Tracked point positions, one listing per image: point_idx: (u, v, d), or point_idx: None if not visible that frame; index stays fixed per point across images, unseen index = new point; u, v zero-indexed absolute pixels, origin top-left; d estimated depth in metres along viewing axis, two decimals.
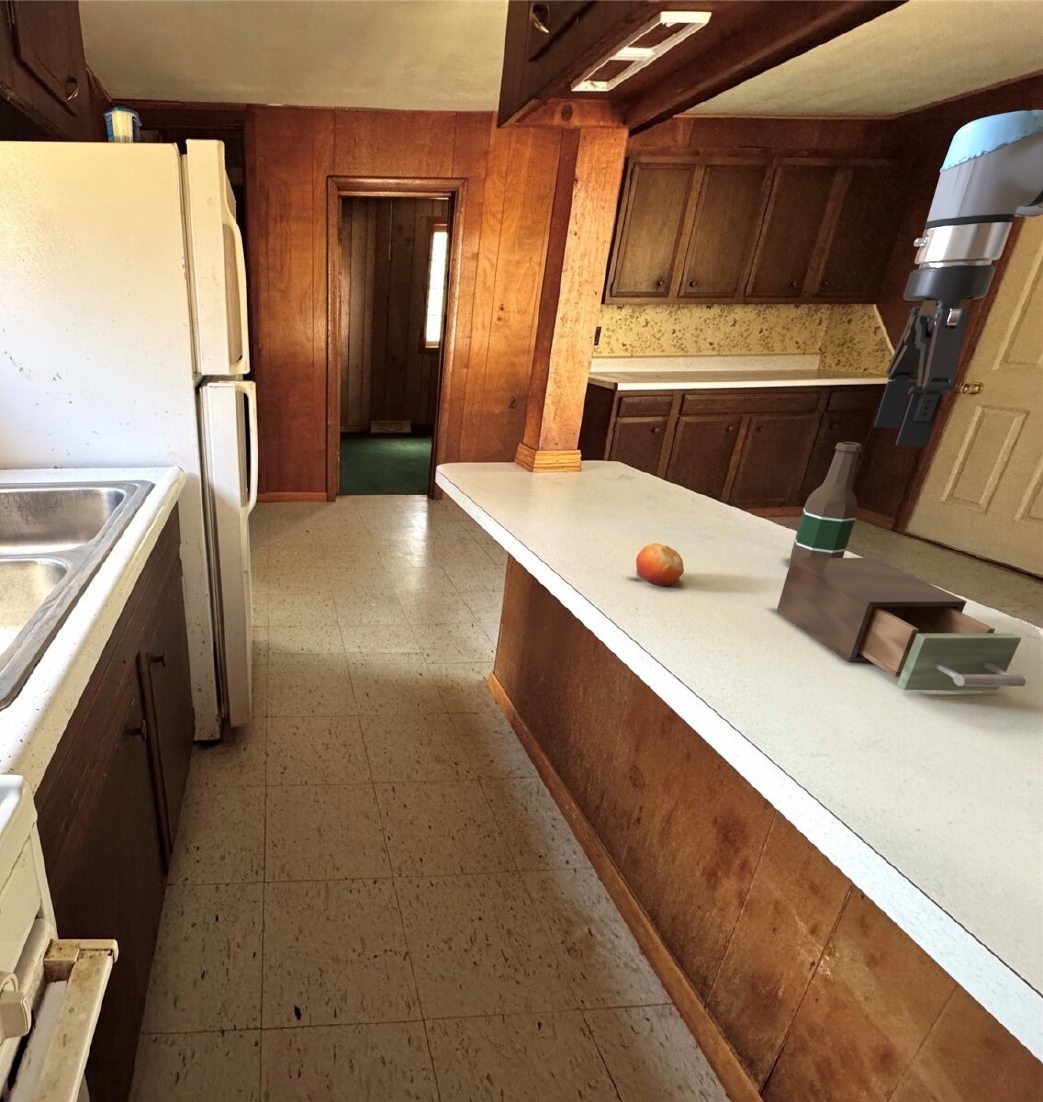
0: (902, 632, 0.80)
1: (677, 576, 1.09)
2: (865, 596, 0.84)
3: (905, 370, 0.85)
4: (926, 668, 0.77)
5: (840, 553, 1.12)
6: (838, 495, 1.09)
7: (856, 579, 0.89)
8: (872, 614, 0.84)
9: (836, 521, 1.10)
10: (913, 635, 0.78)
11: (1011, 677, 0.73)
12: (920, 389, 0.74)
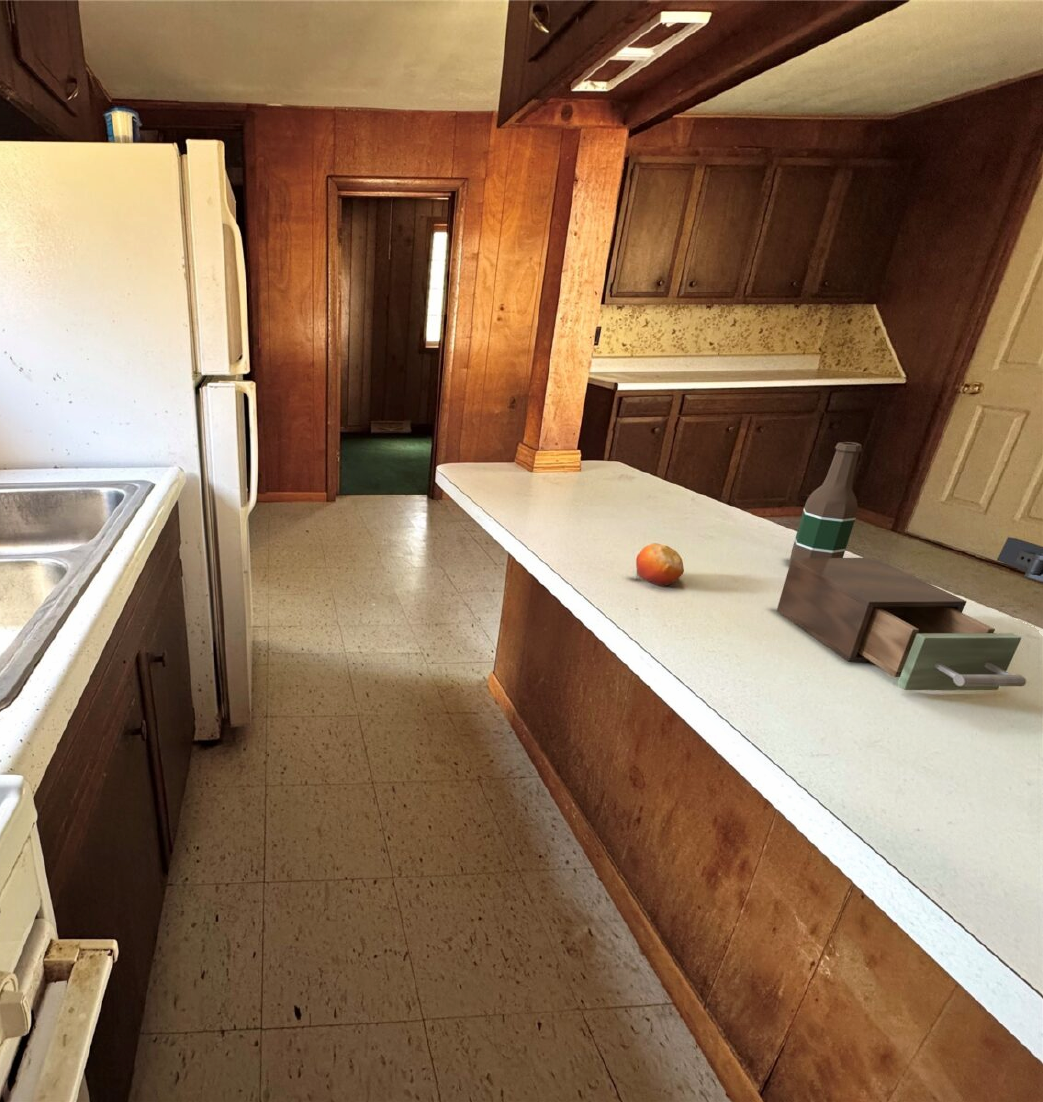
0: (902, 632, 0.80)
1: (677, 576, 1.09)
2: (865, 596, 0.84)
3: None
4: (926, 668, 0.77)
5: (840, 553, 1.12)
6: (838, 495, 1.09)
7: (856, 579, 0.89)
8: (872, 614, 0.84)
9: (836, 521, 1.10)
10: (913, 635, 0.78)
11: (1011, 677, 0.73)
12: None
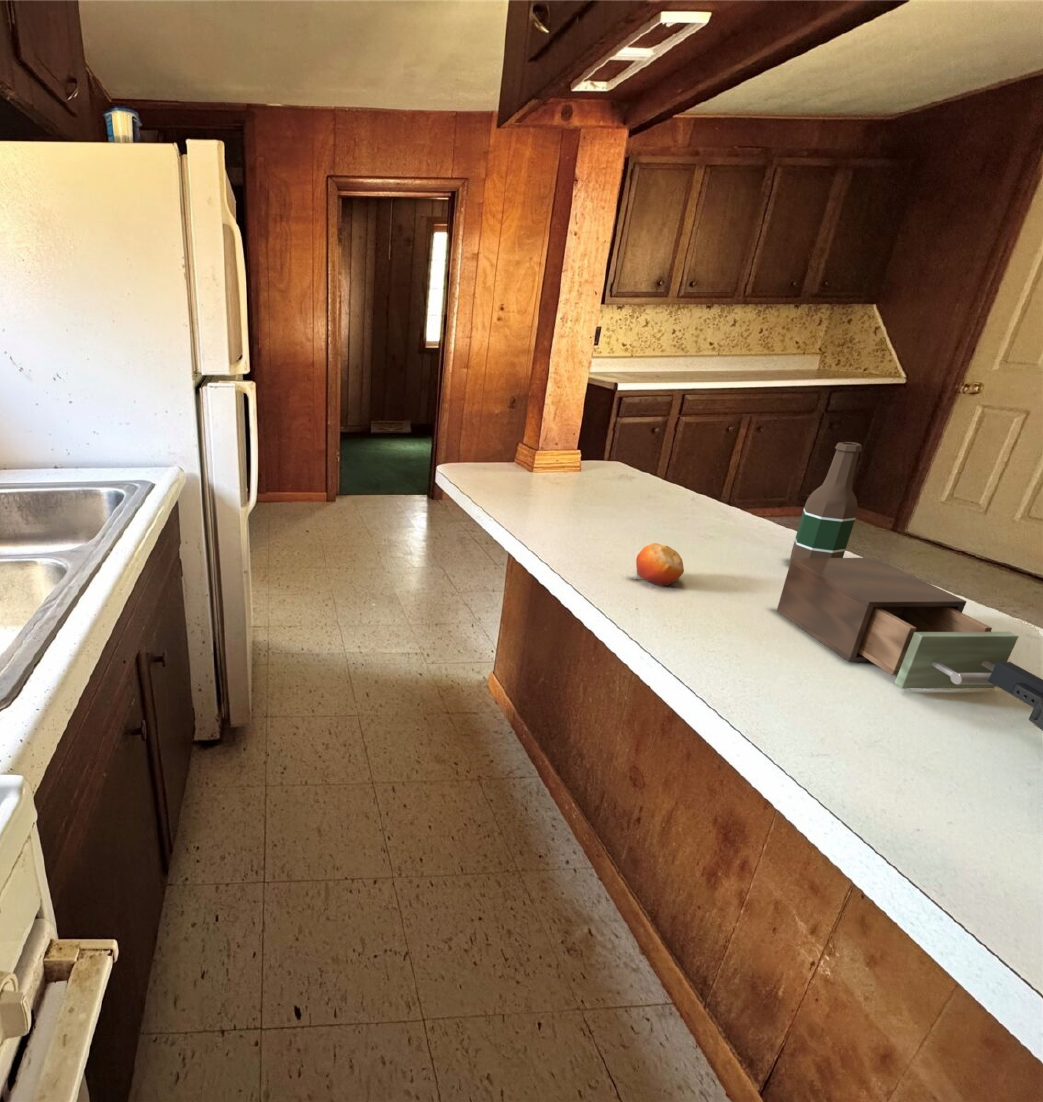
0: (900, 631, 0.80)
1: (677, 576, 1.09)
2: (865, 596, 0.84)
3: None
4: (923, 666, 0.78)
5: (840, 553, 1.12)
6: (838, 495, 1.09)
7: (856, 579, 0.89)
8: None
9: (836, 521, 1.10)
10: (911, 634, 0.79)
11: None
12: None
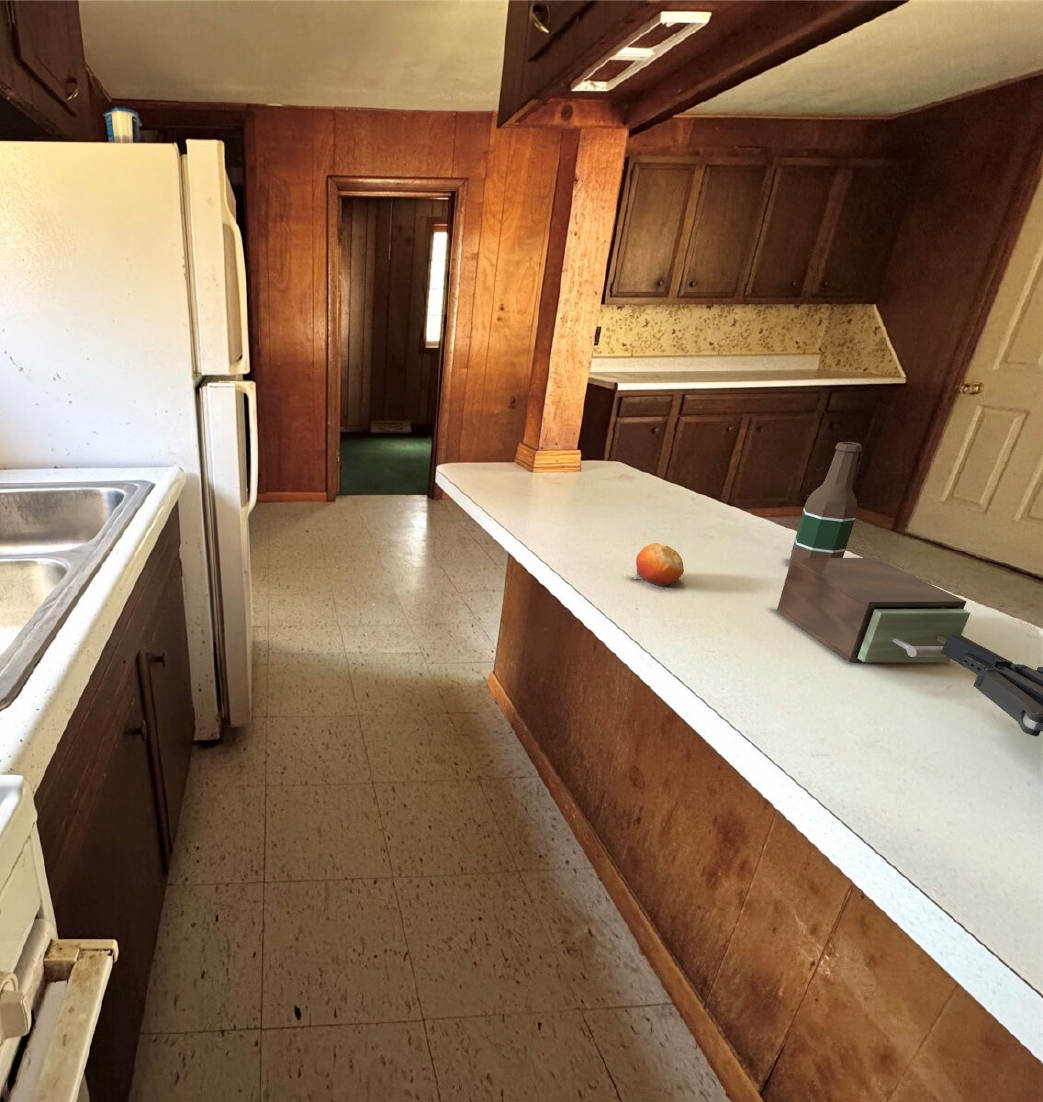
0: None
1: (677, 576, 1.09)
2: (865, 596, 0.84)
3: None
4: (883, 641, 0.83)
5: (840, 553, 1.12)
6: (838, 495, 1.09)
7: (856, 579, 0.89)
8: None
9: (836, 521, 1.10)
10: (872, 611, 0.84)
11: None
12: None
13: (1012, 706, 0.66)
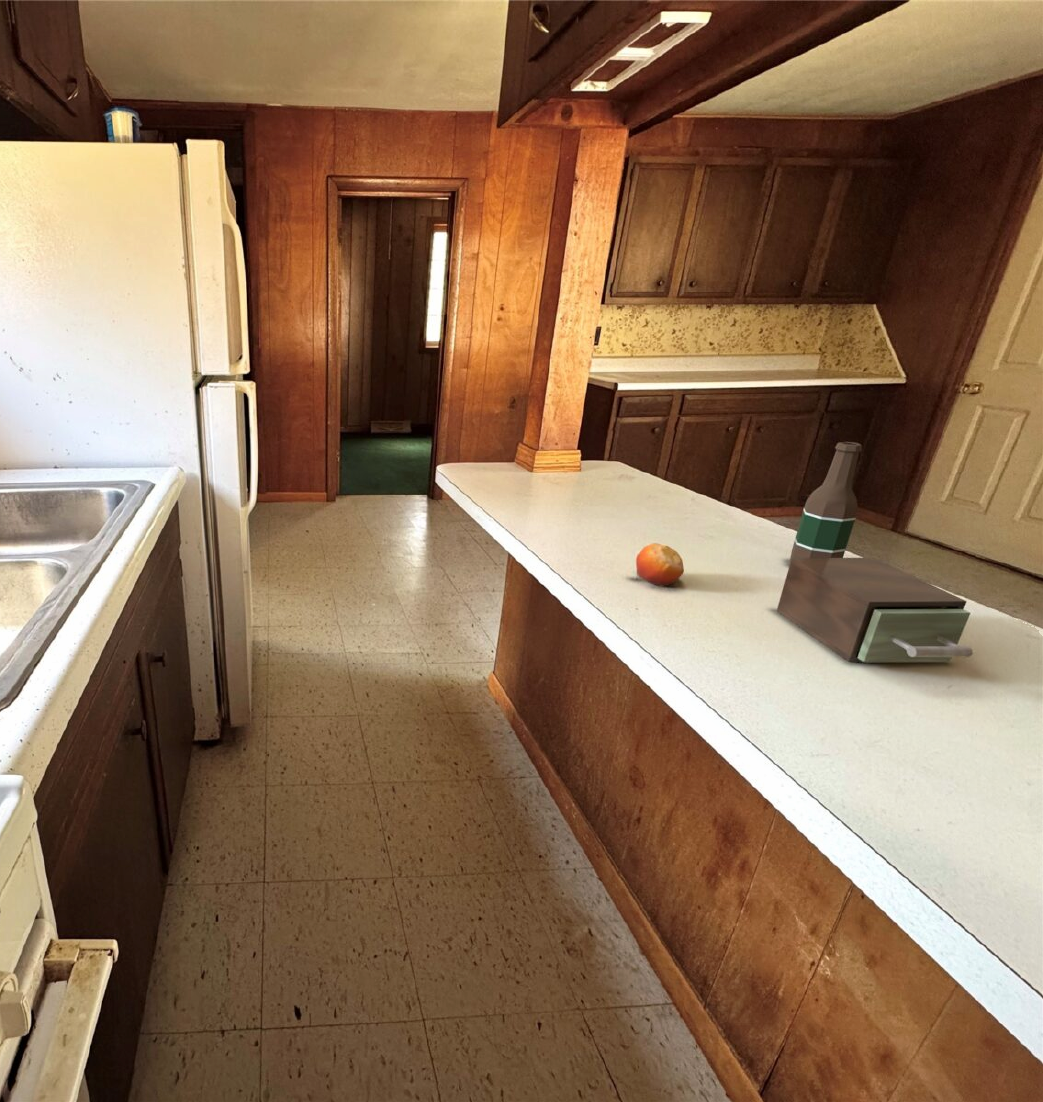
0: None
1: (677, 576, 1.09)
2: (865, 596, 0.84)
3: None
4: (883, 641, 0.83)
5: (840, 553, 1.12)
6: (838, 495, 1.09)
7: (856, 579, 0.89)
8: None
9: (836, 521, 1.10)
10: (872, 611, 0.84)
11: (959, 648, 0.79)
12: None
13: None
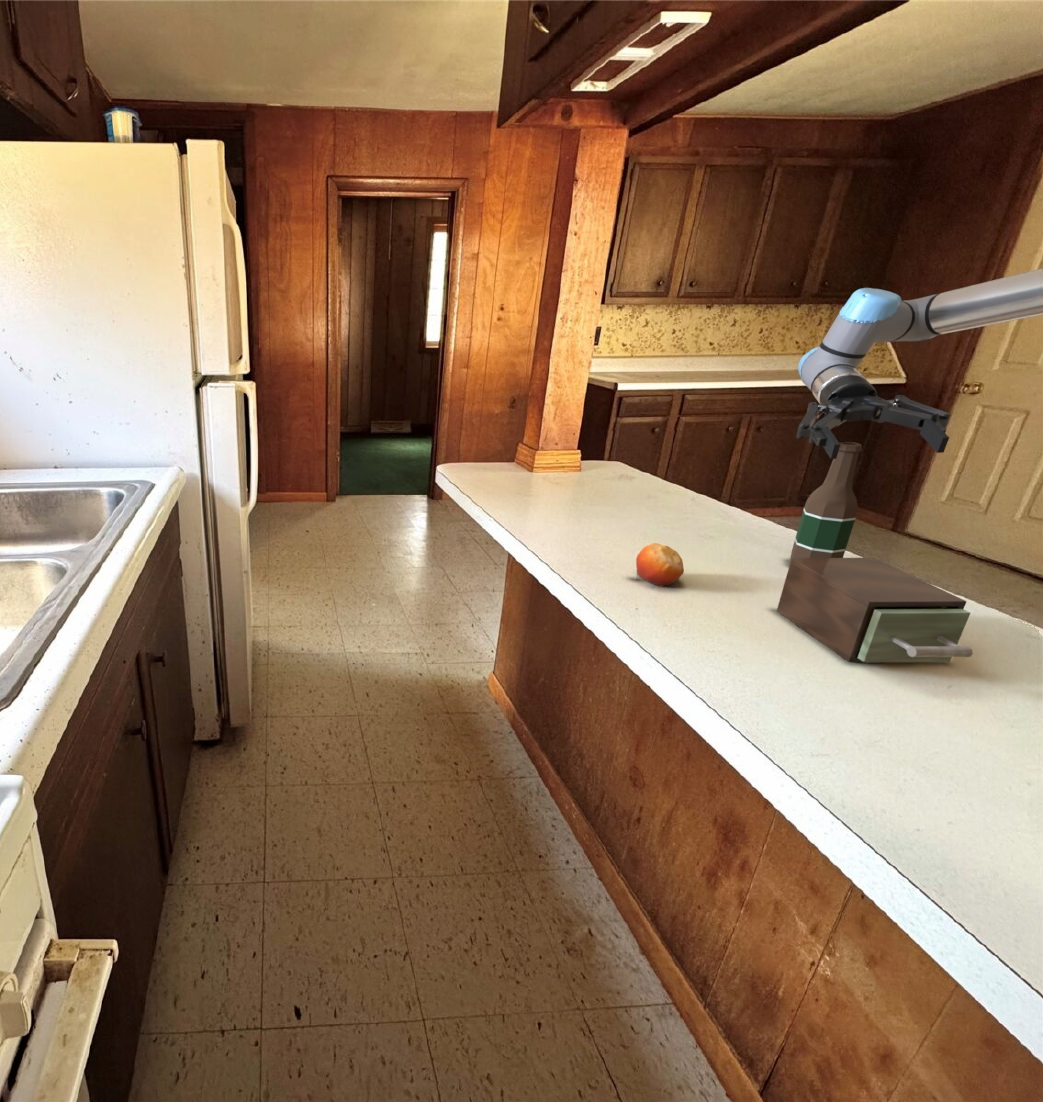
0: None
1: (677, 576, 1.09)
2: (865, 596, 0.84)
3: (916, 422, 1.02)
4: (883, 641, 0.83)
5: (840, 553, 1.12)
6: (838, 495, 1.09)
7: (856, 579, 0.89)
8: None
9: (836, 521, 1.10)
10: (872, 611, 0.84)
11: (959, 648, 0.79)
12: None
13: None
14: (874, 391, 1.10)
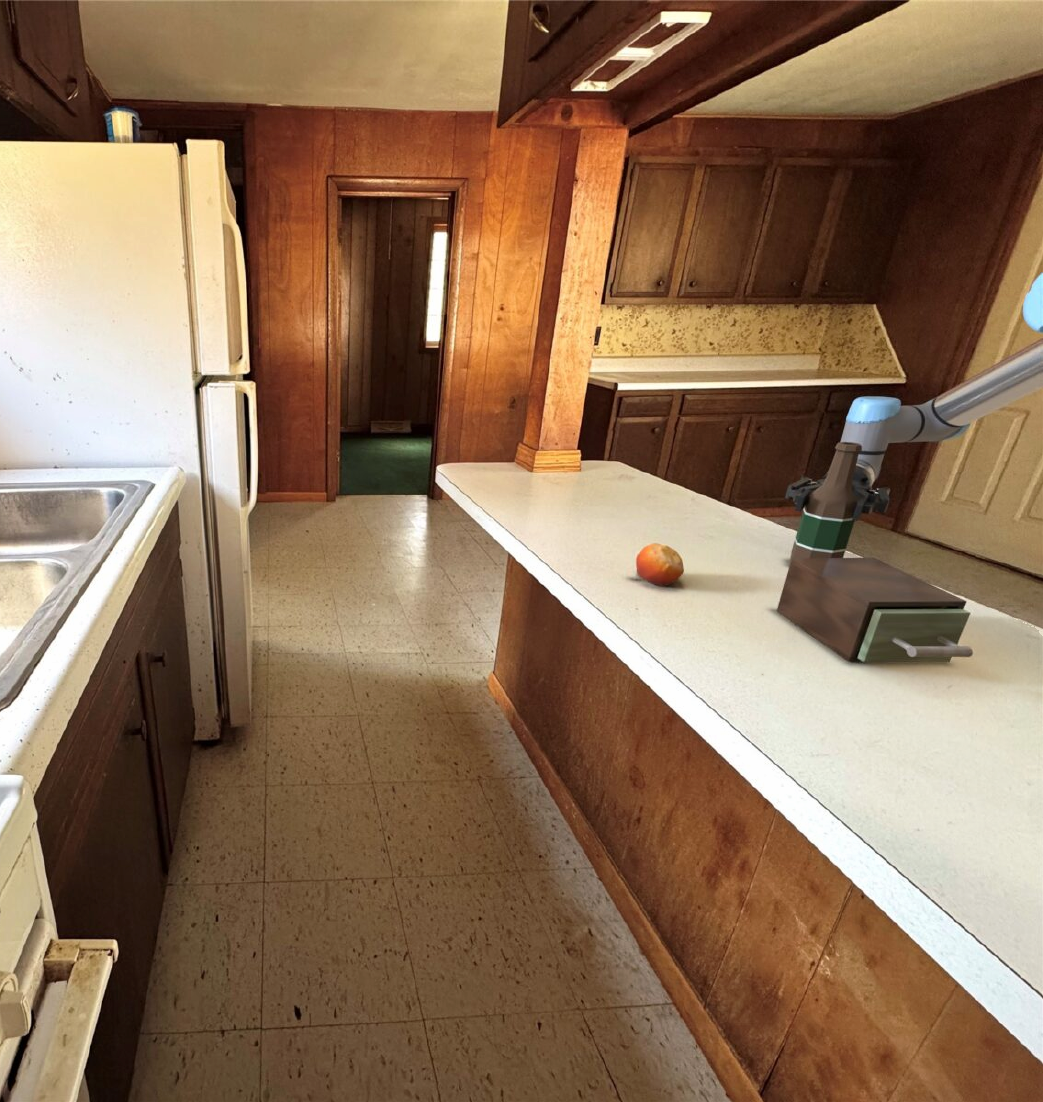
0: None
1: (677, 576, 1.09)
2: (865, 596, 0.84)
3: None
4: (883, 641, 0.83)
5: (840, 553, 1.12)
6: (838, 495, 1.09)
7: (856, 579, 0.89)
8: None
9: (836, 521, 1.10)
10: (872, 611, 0.84)
11: (959, 648, 0.79)
12: None
13: None
14: (867, 480, 1.18)
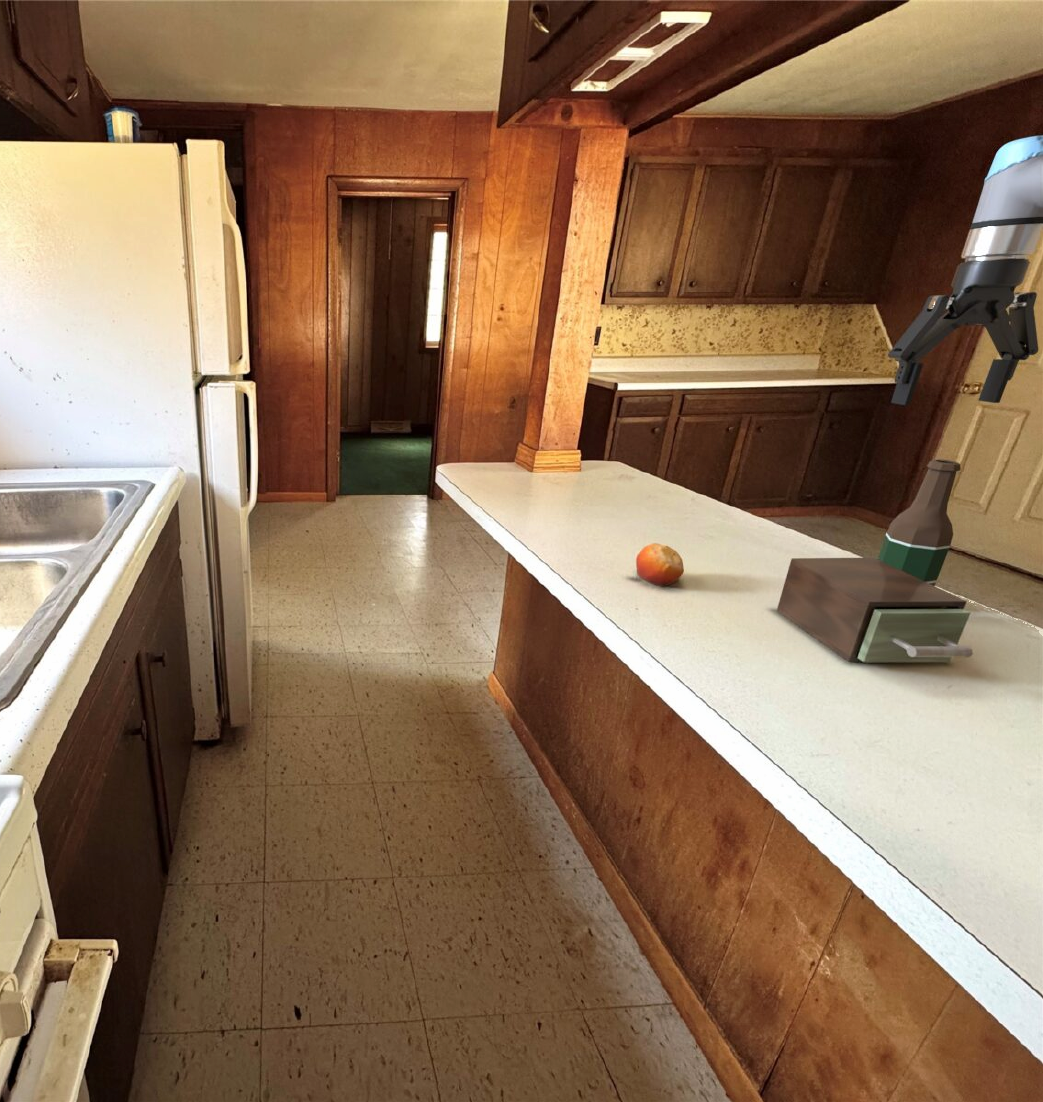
0: None
1: (677, 576, 1.09)
2: (865, 596, 0.84)
3: (1003, 349, 0.95)
4: (883, 641, 0.83)
5: None
6: (931, 519, 0.96)
7: (856, 579, 0.89)
8: None
9: (928, 549, 0.96)
10: (872, 611, 0.84)
11: (959, 648, 0.79)
12: None
13: None
14: None
